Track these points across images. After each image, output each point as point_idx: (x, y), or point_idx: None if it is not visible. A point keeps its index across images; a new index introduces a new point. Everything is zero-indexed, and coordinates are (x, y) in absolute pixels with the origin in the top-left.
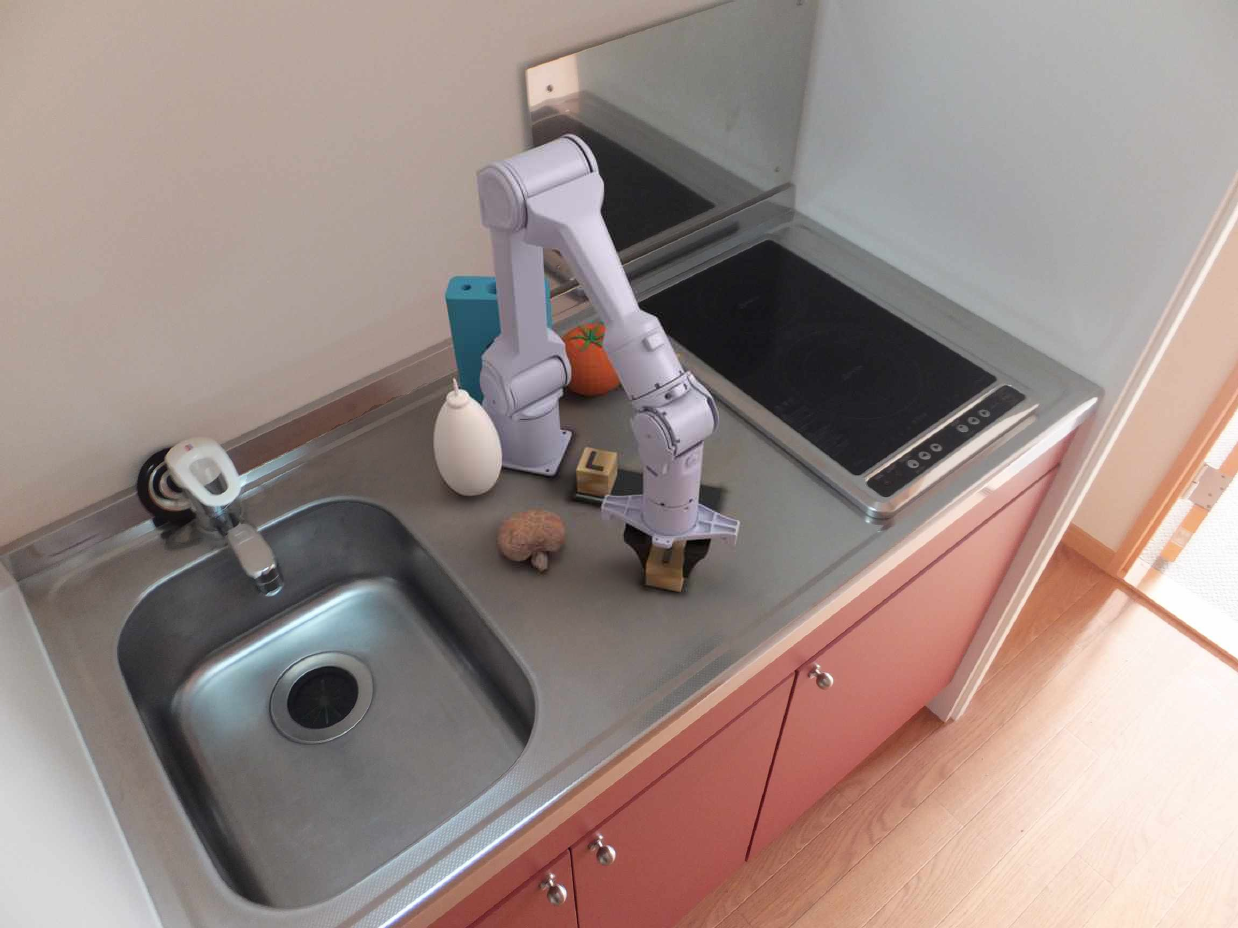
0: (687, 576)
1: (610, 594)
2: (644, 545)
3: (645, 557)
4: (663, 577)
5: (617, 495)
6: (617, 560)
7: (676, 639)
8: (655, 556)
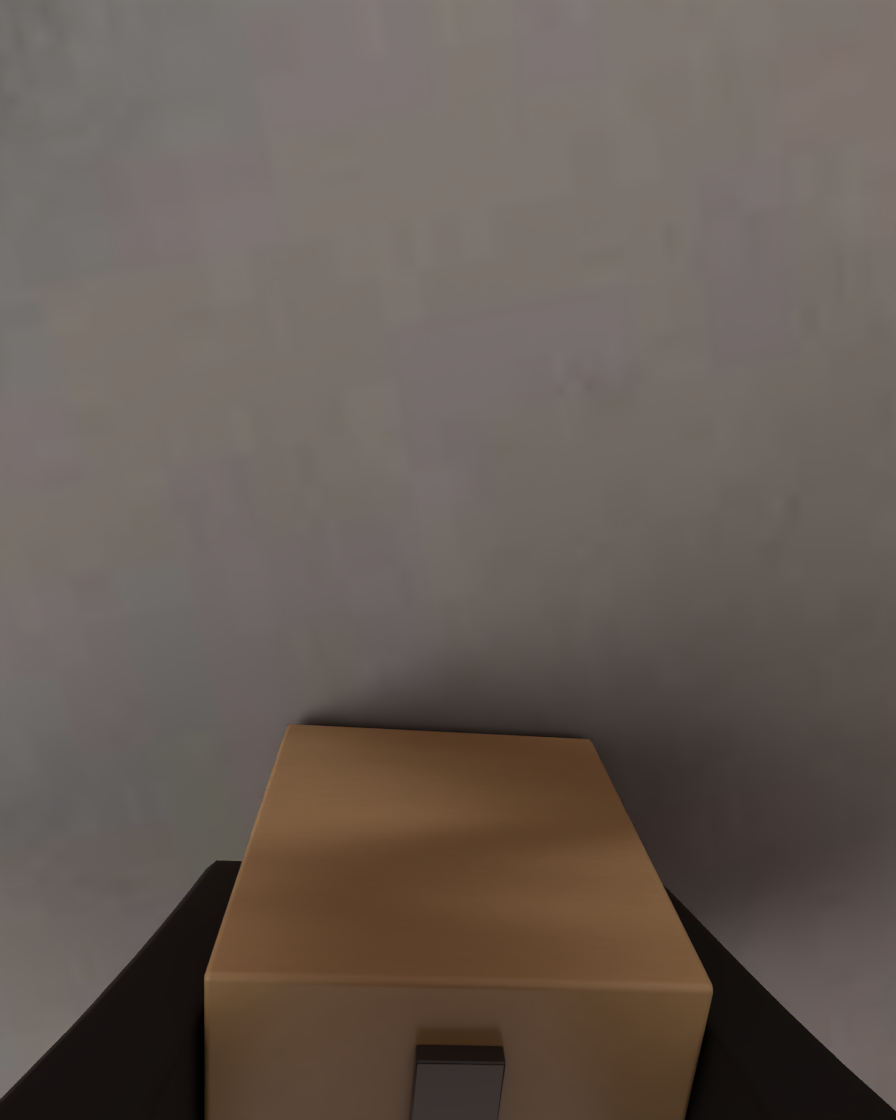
0: (200, 886)
1: (875, 594)
2: None
3: (759, 1087)
4: (451, 828)
5: None
6: (829, 903)
7: (222, 207)
8: (601, 1101)
